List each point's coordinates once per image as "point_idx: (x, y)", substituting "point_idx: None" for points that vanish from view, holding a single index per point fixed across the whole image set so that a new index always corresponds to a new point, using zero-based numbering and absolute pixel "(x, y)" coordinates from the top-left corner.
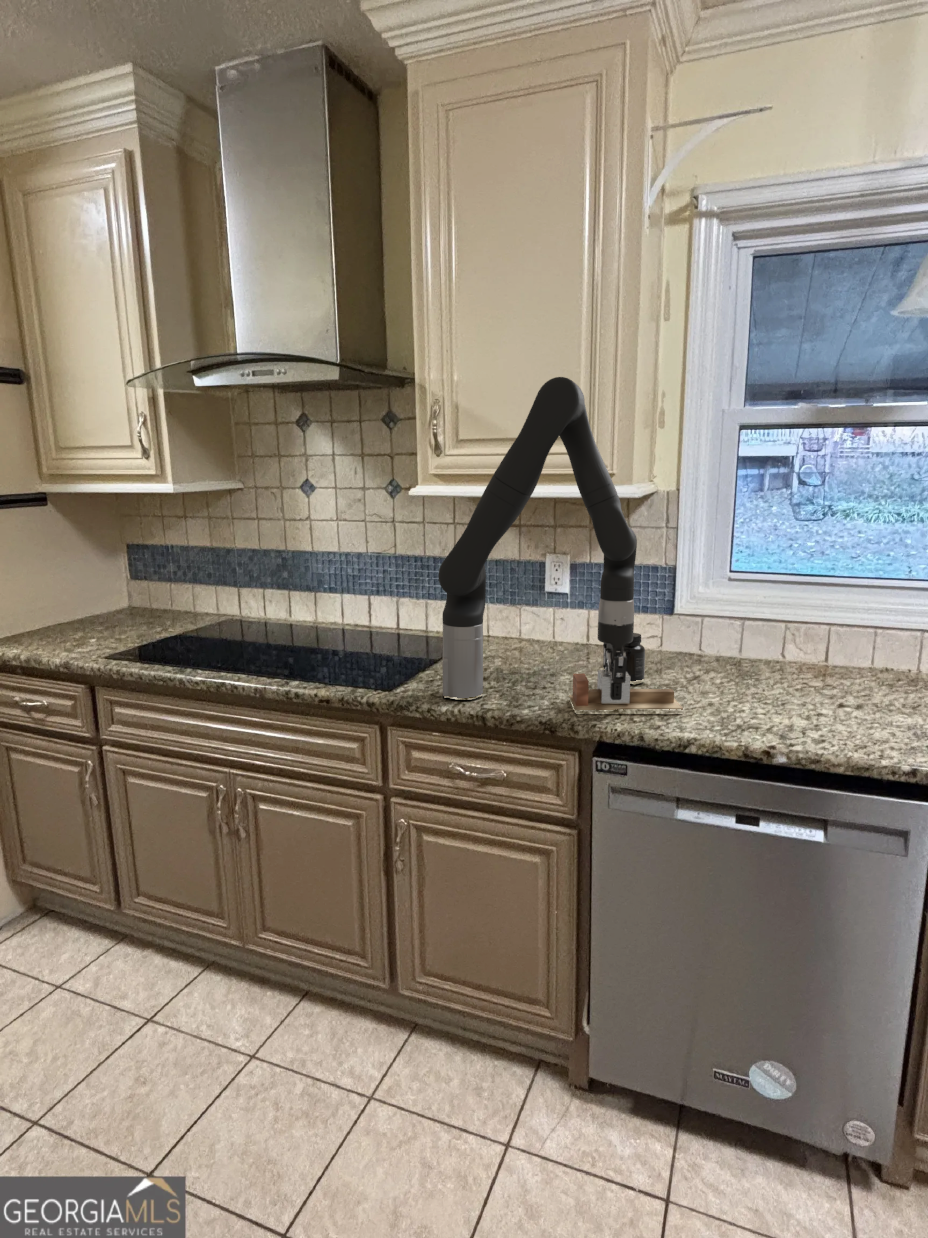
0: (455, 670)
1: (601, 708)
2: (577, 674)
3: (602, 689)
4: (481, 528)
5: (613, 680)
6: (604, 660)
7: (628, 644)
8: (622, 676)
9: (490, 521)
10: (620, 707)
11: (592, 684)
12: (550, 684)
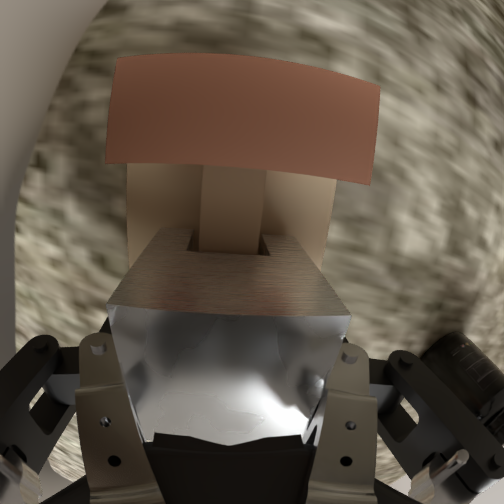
0: None
1: (127, 216)
2: (349, 110)
3: (138, 259)
4: None
5: (34, 344)
6: (356, 425)
7: (490, 429)
8: (58, 407)
9: None
10: None
11: (467, 265)
12: (491, 135)
